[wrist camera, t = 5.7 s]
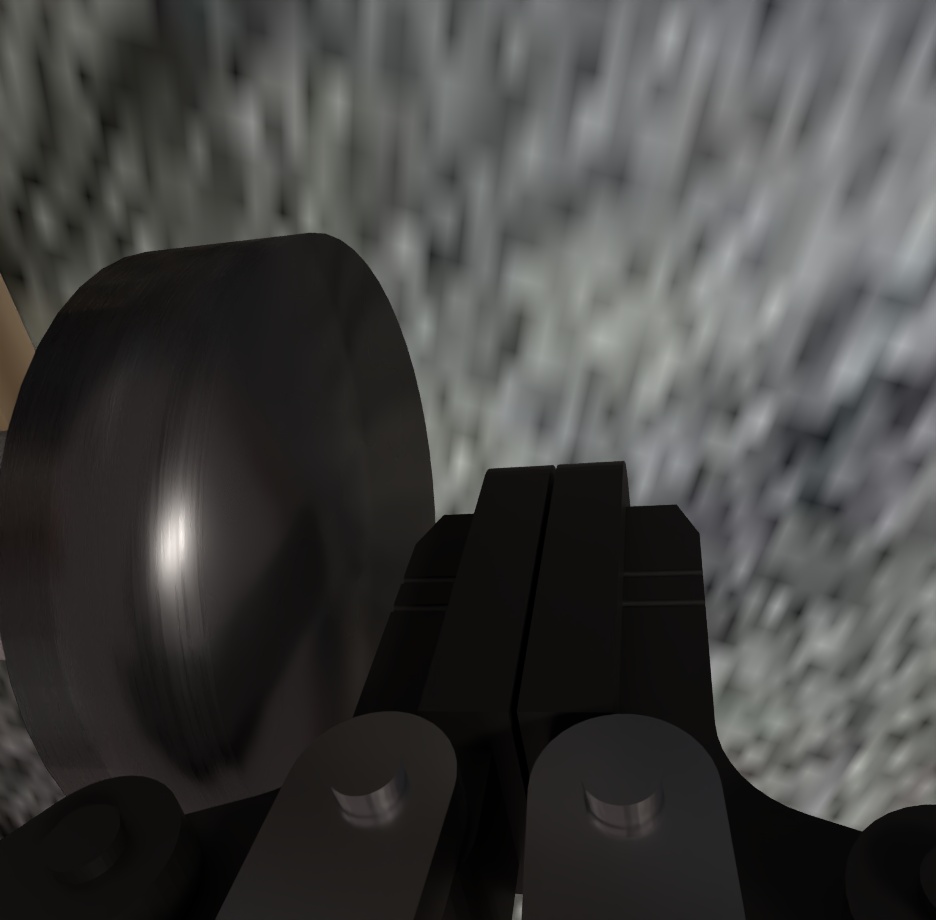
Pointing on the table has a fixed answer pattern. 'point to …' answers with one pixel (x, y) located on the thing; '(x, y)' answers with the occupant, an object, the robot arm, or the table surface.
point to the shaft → (208, 513)
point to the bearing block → (11, 355)
